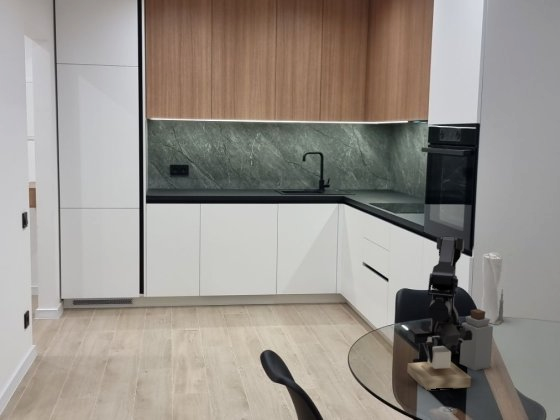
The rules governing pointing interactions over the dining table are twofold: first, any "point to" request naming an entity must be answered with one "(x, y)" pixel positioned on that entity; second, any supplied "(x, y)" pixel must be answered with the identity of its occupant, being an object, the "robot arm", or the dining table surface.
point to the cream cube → (440, 357)
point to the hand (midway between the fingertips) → (438, 361)
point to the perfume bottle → (477, 342)
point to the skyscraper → (492, 288)
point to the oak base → (438, 376)
